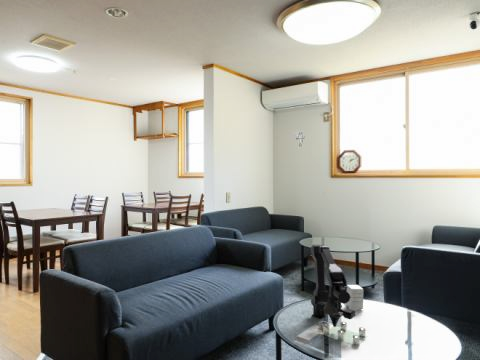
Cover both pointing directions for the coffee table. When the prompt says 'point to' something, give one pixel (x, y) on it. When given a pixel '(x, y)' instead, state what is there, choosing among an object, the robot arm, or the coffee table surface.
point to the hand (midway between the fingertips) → (334, 326)
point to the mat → (347, 334)
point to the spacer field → (341, 333)
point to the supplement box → (355, 297)
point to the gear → (323, 324)
